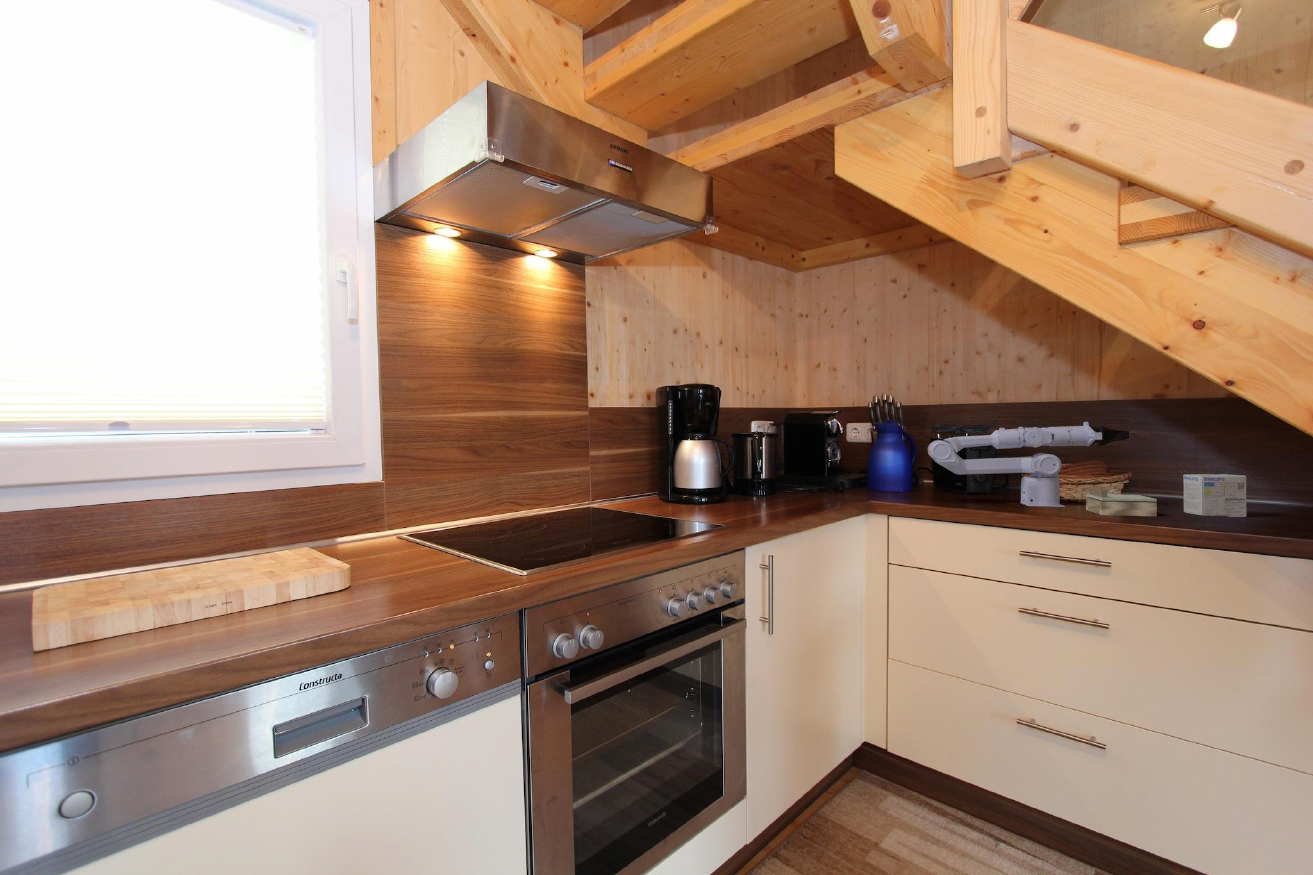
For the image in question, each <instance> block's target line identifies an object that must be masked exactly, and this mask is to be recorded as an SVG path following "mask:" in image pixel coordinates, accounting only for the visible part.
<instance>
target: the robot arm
mask: <svg viewBox="0 0 1313 875" xmlns="http://www.w3.org/2000/svg"><path fill="white" fill-rule="evenodd" d="M1089 424H1090V423H1089V421H1084V422H1083V425H1074V426H1072V425H1071V426H1069V425H1068V426H1048V427H1041V428H1040V427H1036V426H1034V427H1023V426H1018V427H1017V428H1010V429H1006V428H1005V427H999V428H998V430H997V429H996V430H994V431H993V432H992V433H991V434H987V435H970V436H969V435H967V436H966V435H965V436H964V435H963V436H954V437H948V438H945V439H943V440H939V439H937V440H933V441H932V442H930V444H929V445H928V446H927V453H928V456H930V458H931V459H932V460H933V461H934V462H935V463H936V464H938V465H940V466H942V467H943V468H945V469H947V470H948V471H950V472H951V473H953V474H954V475H955V474H956V475H984V474H986V475H987V474H1016V473H1017V474H1018V473H1019V474H1021V473H1023V474H1024V473H1025V474H1026V473H1027V474H1030V476H1025V475H1024V476H1022V477H1021V481H1020V504H1022V505H1025V506H1027V507H1055V508H1057V507H1058V508H1059V507H1060V508H1061V507H1063V508H1064V507H1066V506H1065V505H1063V504H1060V474H1058V473H1059V472H1060V471H1061V469H1062V466H1063V465H1062V461H1061V459H1060V458H1059V457H1058V456H1056V455H1055V454H1049V453H1044V452H1038V453H1035V454H1033V455H1031V456H1030V455H1029V456H1020V457H995V458H991V457H990V458H973V459H972V458H970V459H968V458H967V459H966V458H965V459H964V458H962V457H960V455H958V452H960V451H961V450H962V449H964V448H974V447H984V446H993V448H994V449H996V450H999V449H1000V450H1001V449H1002V450H1003V449H1004V450H1005V449H1015V448H1016V449H1017V448H1018V449H1019V448H1020V449H1021V448H1022V447H1026V448H1029V447H1031V448H1039V447H1041V446H1042V447H1043V446H1049V447H1070V446H1071V447H1073V446H1074V447H1077V446H1079V447H1081V446H1083V447H1084V446H1085V447H1090V446H1091V445H1094V444H1095V443H1098V444H1097V445H1098V446H1101V447H1103V446H1106V445H1107V444H1109V443H1110V444H1111V443H1115V442H1118V441H1124V440H1129V439H1130V432H1129V430H1125V429H1114V428H1109V427H1106V426H1102V425H1099V427H1095V426H1092V425H1089Z"/></svg>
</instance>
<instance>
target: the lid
mask: <svg viewBox="0 0 1313 875" xmlns="http://www.w3.org/2000/svg"><path fill="white" fill-rule="evenodd" d="M1085 496H1086V497H1091V498H1095V499H1098V500H1105V501H1152V502H1157V498H1154V497H1149V496H1144V495H1140V494H1123V493H1122V494H1118V493H1117V494H1115V493H1113V494H1112V493H1111V494H1110V493H1108V489H1103V488H1099V487H1095V486H1090V487H1088V493H1085Z"/></svg>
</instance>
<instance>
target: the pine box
mask: <svg viewBox="0 0 1313 875" xmlns="http://www.w3.org/2000/svg"><path fill="white" fill-rule="evenodd" d="M1157 504H1158V503H1157V501H1105V500H1098V499H1095V498H1091V497H1088V496H1086V497H1085V511H1089V512H1091V513H1093V514H1094V513H1095V514H1097V515H1100V516H1120V517H1121V516H1123V517H1126V516H1127V517H1133V516H1134V517H1158V516H1157V515H1158V514H1157V513H1158V511H1157V510H1158V509H1157V508H1158V506H1157Z"/></svg>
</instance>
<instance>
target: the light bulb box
mask: <svg viewBox="0 0 1313 875" xmlns="http://www.w3.org/2000/svg"><path fill="white" fill-rule="evenodd" d="M1182 478H1183V480H1182V481H1183V512H1184V513H1187V514H1193V515H1198V516H1210V517H1212V516H1215V517H1217V516H1223V517H1224V516H1225V517H1229V518H1247V475H1245V474H1244V475H1240V474H1228V473H1219V474H1218V473H1217V474H1215V473H1211V474H1210V473H1208V474H1207V473H1206V474H1205V473H1204V474H1197V473H1196V474H1183V477H1182Z"/></svg>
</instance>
